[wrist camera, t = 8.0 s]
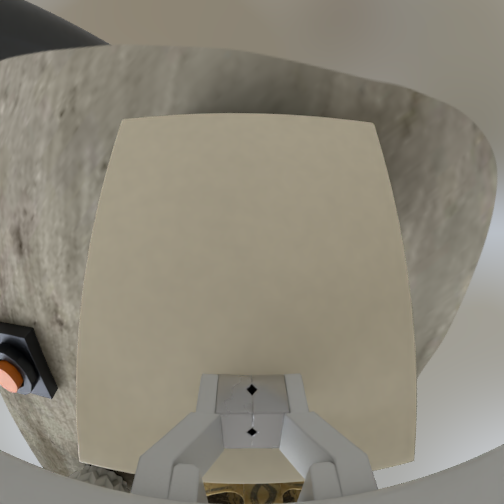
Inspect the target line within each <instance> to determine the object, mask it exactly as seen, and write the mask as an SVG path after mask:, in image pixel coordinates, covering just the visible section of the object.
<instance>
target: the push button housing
mask: <svg viewBox="0 0 504 504" xmlns="http://www.w3.org/2000/svg"><path fill="white" fill-rule="evenodd" d="M1 360H5V361H7V362H9V363H10V364H11V365H13V366H14V367H15V368H16V369H17V370H18V372H19V373H20V374H21V376H22V378H23V383H22V385H21V386H20V388H19V389H18V391H17V392H18V393H21V394H24V395H26V394H29V393H32V394H36V395H39V396H43V397H47V398H51V399H52V398H53V396H54V394H55V393H56V391H57V389H58V387H57V385H56V383H55V381H54V378H53V376H52V374H51V372H50V369H49V367H48V365H47V362H46V360H45V358H44V355H43V353H42V350H41V348H40V345H39V343H38V340H37V337H36V335H35V332H34V329H33V328H30V327H24V326H19V325H13V324H8V323H3V322H0V361H1Z"/></svg>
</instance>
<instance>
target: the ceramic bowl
mask: <svg viewBox="0 0 504 504" xmlns="http://www.w3.org/2000/svg"><path fill="white" fill-rule="evenodd" d="M203 484H204V488H205V492H206V496H207V500H208V503H212V504H279V503H294V502H297V500H298V498H299V495H300V492H301V490H302V487H303V484H304V481H300V482H287V483H266V484H225V483H204V482H203Z"/></svg>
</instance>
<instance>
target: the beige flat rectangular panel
mask: <svg viewBox="0 0 504 504" xmlns="http://www.w3.org/2000/svg"><path fill="white" fill-rule="evenodd" d="M203 373H204V374H230V375H275V374H283V375H284V374H295V373H300V374H301V375H302V380H303V385H304V389H305V394H306V399H307V403H308V408H309V412H313V411H314V412H315V413H317V414H318V415H319V416H320V417H321V418H322V419H324V420H325V421H326V422H327V423H328V424H330V425H331V426H332V427H333V428H335V429H336V430H337V431H338V432H339V433H341V434H342V435H343V436H344V437H346V438H347V439H348V440H349V441H351V442H352V443H353V444H354V445H356V446H357V447H358V448H359V449H361V450H362V451H363V452H365V453H366V454H367V455H368V458H369V462H370V465H371V468H372V471H375V470H380V469H384V468H389V467H393V466H397V465H401V464H405V463H408V462H412V461H414V455H415V440H416V439H415V438H416V415H417V413H416V412H417V377H416V351H415V335H414V322H413V312H412V302H411V293H410V285H409V278H408V270H407V264H406V257H405V251H404V245H403V240H402V234H401V229H400V224H399V219H398V214H397V209H396V204H395V200H394V196H393V191H392V187H391V183H390V179H389V175H388V171H387V167H386V163H385V160H384V156H383V152H382V149H381V145H380V142H379V139H378V135H377V132H376V129H375V125H374V123H370V122H363V121H355V120H346V119H337V118H327V117H316V116H303V115H286V114H262V113H205V114H180V115H164V116H151V117H140V118H130V119H123V120H122V122H121V125H120V128H119V131H118V134H117V137H116V140H115V144H114V147H113V150H112V153H111V157H110V160H109V164H108V167H107V171H106V175H105V179H104V182H103V186H102V190H101V194H100V199H99V203H98V207H97V212H96V216H95V221H94V226H93V231H92V236H91V241H90V247H89V252H88V258H87V264H86V271H85V278H84V285H83V293H82V301H81V310H80V320H79V332H78V347H77V369H76V417H77V439H78V453H79V461H80V462H83V463H87V464H91V465H95V466H99V467H103V468H107V469H112V470H116V471H121V472H126V473H132V474H135V473H136V469H137V465H138V461H139V457H140V456H141V455H142V454H143V453H145V452H146V451H147V450H148V449H149V448H151V447H152V446H153V445H154V444H155V443H156V442H158V441H159V440H160V439H161V438H162V437H163V436H164V435H166V434H167V433H168V432H169V431H170V430H171V429H172V428H174V427H175V426H176V425H177V424H178V423H179V422H180V421H181V420H183V419H184V418H185V417H186V416H187V415H188V414H189V413H190V412H196V406H197V400H198V393H199V386H200V380H201V376H202V374H203ZM279 449H280V448H247V449H224V451H223V452H222V453H221V455H220V456H219V457H218V458H217V460H216V461H215V462H214V463H213V465H212V466H211V467H210V468H209V470H208V471H207V472H206V473H205V475H204V476H203V477H202V480H203V482H204V483H225V484H266V483H287V482H300V481H305V479H304V478H303V477H302V475H301V474H300V473H299V472H298V471H297V470H296V469H295V467H294V466H293V465H292V464H291V463H290V462H289V460H288V459H287V458H286V457H285V456H284V454H283V453H282V452H281V451H280V450H279Z"/></svg>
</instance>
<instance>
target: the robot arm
mask: <svg viewBox="0 0 504 504" xmlns="http://www.w3.org/2000/svg"><path fill="white" fill-rule="evenodd" d="M247 448H280V449H279V450H280V451H281V452H282V453H283V454H284V456H285V457H286V458H287V459H288V460H289V462H290V463H291V464H292V465H293V466H294V467H295V469H296V470H297V471H298V472H299V473H300V474H301V475H302V477H303V478H304V479H305V481H304V484H303V487H302V490H301V492H300V495H299V498H298V500H297V502H294V503H279V504H504V444H503V445H501V446H499V447H497V448H495V449H493V450H491V451H489V452H486V453H484V454H482V455H480V456H478V457H475V458H473V459H471V460H468V461H466V462H464V463H461V464H459V465H456V466H454V467H451V468H448V469H446V470H443V471H440V472H437V473H434V474H431V475H429V476H425V477H422V478H419V479H416V480H412V481H409V482H406V483H402V484H398V485H394V486H391V487H387V488H383V489H378V488H377V484H376V481H375V478H374V475H373V472H372V468H371V465H370V462H369V458H368V455H367V454H366V453H365V452H363V451H362V450H361V449H359V448H358V447H357V446H356V445H354V444H353V443H352V442H351V441H349V440H348V439H347V438H346V437H344V436H343V435H342V434H341V433H339V432H338V431H337V430H336V429H335V428H333V427H332V426H331V425H330V424H328V423H327V422H326V421H325V420H324V419H322V418H321V417H320V416H319V415H318V414H317V413H315V412H314V411H313V412H309V408H308V403H307V399H306V394H305V389H304V385H303V380H302V375H301V374H300V373H295V374H284V375H283V374H275V375H230V374H204V373H203V374H202V376H201V380H200V386H199V393H198V400H197V406H196V412H190V413H189V414H188V415H187V416H186V417H185V418H184V419H183V420H181V421H180V422H179V423H178V424H177V425H176V426H175V427H174V428H172V429H171V430H170V431H169V432H168V433H167V434H166V435H164V436H163V437H162V438H161V439H160V440H159V441H158V442H156V443H155V444H154V445H153V446H152V447H151V448H149V449H148V450H147V451H146V452H145V453H143V454H142V455H141V456H140V457H139V461H138V465H137V469H136V473H135V477H134V481H133V485H132V489H131V493H127V492H122V491H118V490H113V489H109V488H105V487H101V486H97V485H93V484H89V483H86V482H82V481H79V480H76V479H73V478H69V477H66V476H63V475H60V474H57V473H54V472H52V471H49V470H46V469H43V468H41V467H38V466H36V465H33V464H30V463H28V462H26V461H23V460H21V459H19V458H16V457H14V456H12V455H10V454H7V453H5V452H3V451H1V450H0V504H212V503H208V500H207V496H206V492H205V488H204V484H203V480H202V477H203V476H204V475H205V473H206V472H207V471H208V470H209V468H210V467H211V466H212V465H213V463H214V462H215V461H216V460H217V458H218V457H219V456H220V455H221V453H222V452H223V451H224V449H247Z"/></svg>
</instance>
